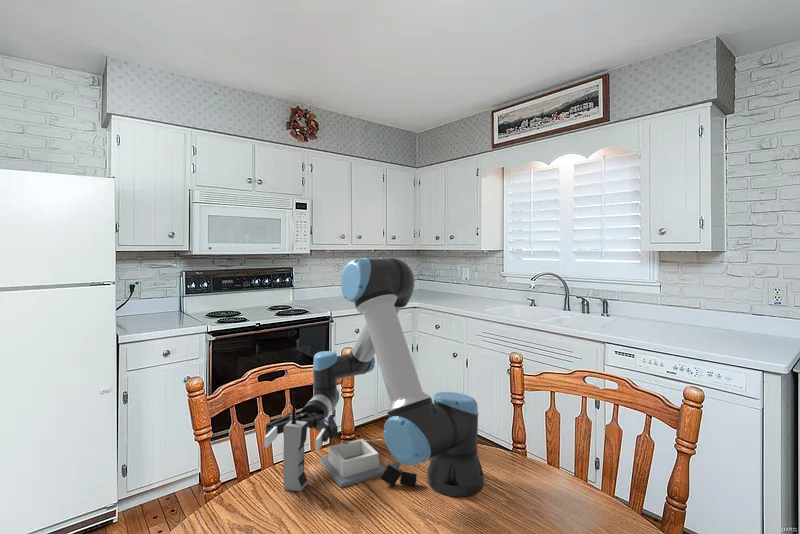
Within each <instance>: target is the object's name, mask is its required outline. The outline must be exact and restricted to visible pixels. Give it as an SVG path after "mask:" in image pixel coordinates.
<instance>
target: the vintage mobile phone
mask: <svg viewBox="0 0 800 534" xmlns="http://www.w3.org/2000/svg"><path fill="white" fill-rule="evenodd" d="M291 413H292V420H291V421H290V422H288V423H287V424H286V425H285V426H284V432H283V490H285V491H294V492H302V491H303V490H304V488H305V487H306V486H307V485H308V482H309V481H308V477H307V475H306V472H305V443H306V441H307V435H308V427H307V424H308V422H305V421H296V420H295V416H296V392H295V391H292V409H291Z"/></svg>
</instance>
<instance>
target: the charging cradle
mask: <svg viewBox="0 0 800 534" xmlns="http://www.w3.org/2000/svg"><path fill="white" fill-rule="evenodd" d="M379 455H380V454H379V452H378V451H376V449H374V447H372V445H370V444H369V443H368V442H367V441H366V440H365V438H359V439H355V440H350V441H345V442H342V443H338V444H334V445H329V446H328V455H326V456H322V457H320V459H319V462H320V463H321V462H322V463H321V464H322V466H323V467H324V468H325V469H326V470H327V472H328V473H329V474H330V476H331V477H332V478H333V480H334V482H335V483H336V484H337V485H338V487H339V488H344V487H347V486H353V485H354V484H358V483H361V482H365V481H368V480H371V479H375V478H379V477H381V474H382V473H383V472H384V470H385V469H386V466H385V465H383V464H382V463H381V462H380V461H379V457H380V456H379Z"/></svg>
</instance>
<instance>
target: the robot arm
mask: <svg viewBox="0 0 800 534" xmlns="http://www.w3.org/2000/svg"><path fill="white" fill-rule="evenodd" d="M414 275H415V274H414V273H413V270H412V269H411V267H410V265H408V264H407V263H406V262H405V261H404V260H401V259H399V258H396V257H395V258H394V257H393V258H391V257H390V258H389V257H388V258H374V257H373V258H368V257H363V258H353V259H352V260H349V262H348V263H347V264H346V265H345V267H344V268H343V271H342V275H341V279H340V289H341V294H342V296H343V297H344V298H345V299H346V301H348V302H350V303H354V306H355V309H356V311H357V312H358V313H360V314H361V315H363V316H364V320H365V325H364V327H363V328H362V330H361V332H360V334H359V336H358V338H357V339H356V342H355V344H354V345H353V347H352V348H351V351H350V353H347V354H342V355H337V353H336V352H334V351H329V350H325V351H318V352H317V353H315V354H314V355H313V362H312V363H313V364H312V370H313V373H312V374H313V390H312V392H313V394H312V397H311V399H310V400H309V401H307V403H306V404H305V405H304V406H303V407H302V409H301V411H300V413H299V414H296V415H295V420H296V421H305V422H308V424H307V429H308V428H309V429H311V430H312V429H313V430H315V431H317V432H319V433H318V435H317V436H316V438H315V444H314V445H315V446H314V447H315V448H314V449H315V451H319V450H320V449H321V447H322V445H323V443H325V442H328V440H329V439H330V438H331V437H333V438H338V434H339V430H338V426H337V423H336V421H335V420H334V419H335V416H334V415H335V414H331V413H332V411H333V410H334V409H335V408H336V407H337V404H338V402H339V400H340V391H339V390H338V387H337V386H338V380H342V379H347V378H349V377H354V376H359V375H365V374H367V373H369V372H372V371H373V370H374V369H375V364H376V360H377V362H378V365H379V369H380V372H381V376H382V378H383V379H382V380H383V382H384V385H385V388H386V392H387V395H388V400H389V401H390V404H389V406H388V408H387V410H386V413H387V415H388V416H387V417H388V419H387V420H386V421H385V423H384V426H383V429H384V430H383V437H384V442H385V444H386V447H387V449H388V451H389V453H390V454H391V456H392V457H394V458H395V460H397V462H399V463H400V464H402V465H404V466H405V465H406V466H415V465H418V464H421V463H425V462H428V461H429V460H430V462H429V465H428V466H427V471H426V482H427V484H428V485H429V487H430V488H431V489H432V490H434V491H435V492H437V493H440V494H441V495H444V496H449V497H454V498H455V497H461V498H463V497H470V496H473V495H475V494H477V493H479V492H481V490H482V489H483V488H484V486H485V485H484V484H485V475H484V471H483V468H482V464H481V462H480V461H481V460H480V458H479V454H478V441H479V440H478V434H479V433H478V431H479V427H478V426H479V425H478V423H479V422H478V421H479V415H480V414H479V409H478V408H479V407H478V402H477V401H476V399H475V398H473V397H472V396H470V395H467V394H464V393H459V392H453V391H452V392H451V391H440V392H436V393H435V394H434V396H433V400H432V396H431V395H429V394H427V393H425V392H424V390H423V388H422V385H421V382H420V380H419V377H418V373H417V371H416V368H415V365H414V361H413V359H412V355H411V353H410V349H409V346H408V343H407V340H406V337H405V334H404V332H403V328H402V325H401V323H400V322H401V321H400V319H399V317H398V314H399V312H400V311H401V309H402V308H405V307H407V305H408V303H409V302H410V300H411V297H412V296H413V293H414V288H415V276H414ZM375 355H376V359H375ZM291 420H292V412H289V413H287V414H285V415H284V416H282V417H280V418H277V419H275V420H273V421H270V422H268V423H266V424H265V436H264V437H263V439H264V440H263V441H264V446H263V447H264V448H268V447H269V446H270V445H271V444H272V443H273V442H274V440H276V439H277V438H278V435H280V434H284V426H285V425H286V424H287V423H288V422H290V421H291Z"/></svg>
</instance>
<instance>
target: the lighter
mask: <svg viewBox="0 0 800 534" xmlns="http://www.w3.org/2000/svg"><path fill="white" fill-rule="evenodd" d="M400 466H401V462H399V461H398V460H397V461H392V462H388V464H387V465H386V466H385V468H386V469H385V470H384V472H383V473H382V474H381V476H379V477H380V478H379V479H380V480H382V481H384V482H385V483H387V484H388V485H390V486H391V487H394V486H395V485H396V484H397V481H399V484H400V485H402V486H404V487H409V488H413V487H416V485H417V484H416V483H417V477H418V474H417V473H412V472H409V471H404V470H403V469H402V468H400ZM399 479H400V480H399Z"/></svg>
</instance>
